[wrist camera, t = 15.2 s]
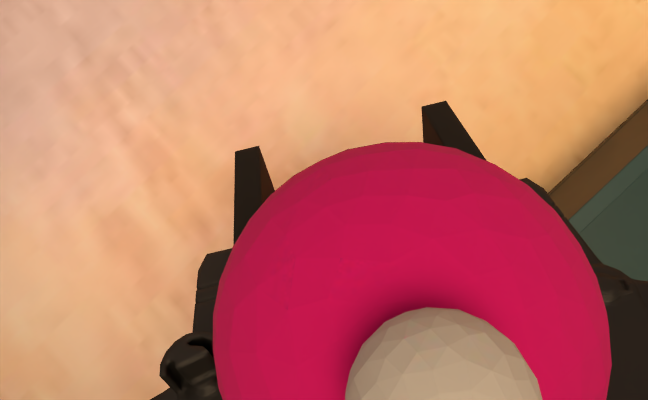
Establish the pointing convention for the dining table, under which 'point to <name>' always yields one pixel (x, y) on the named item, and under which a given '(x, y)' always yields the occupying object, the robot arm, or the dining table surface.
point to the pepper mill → (409, 287)
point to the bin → (613, 197)
